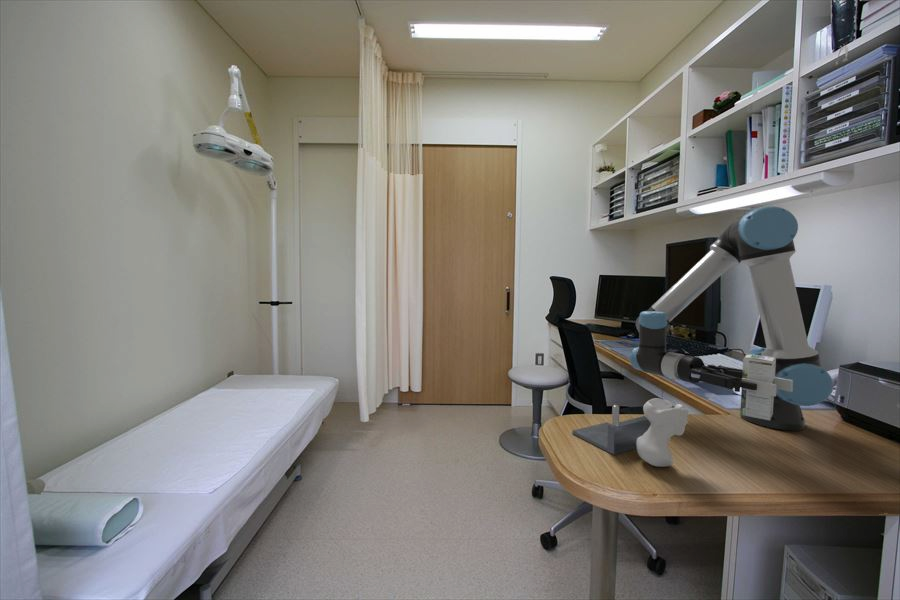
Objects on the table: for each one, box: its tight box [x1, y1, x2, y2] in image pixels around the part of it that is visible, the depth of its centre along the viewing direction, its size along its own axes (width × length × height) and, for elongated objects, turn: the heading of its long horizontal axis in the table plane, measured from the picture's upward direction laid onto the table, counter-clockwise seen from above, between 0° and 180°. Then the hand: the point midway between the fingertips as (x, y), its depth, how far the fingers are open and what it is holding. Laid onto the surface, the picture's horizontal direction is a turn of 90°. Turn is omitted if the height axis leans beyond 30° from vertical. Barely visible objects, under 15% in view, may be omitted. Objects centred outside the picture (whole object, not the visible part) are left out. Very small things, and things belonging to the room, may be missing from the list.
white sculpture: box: [636, 397, 689, 468], centre depth 85 cm, size 10×11×15 cm
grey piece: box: [571, 404, 651, 456], centre depth 99 cm, size 14×14×12 cm
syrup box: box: [739, 354, 776, 420], centre depth 88 cm, size 6×6×14 cm
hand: (783, 388), depth 84 cm, fingers closed on syrup box, 7 cm apart
